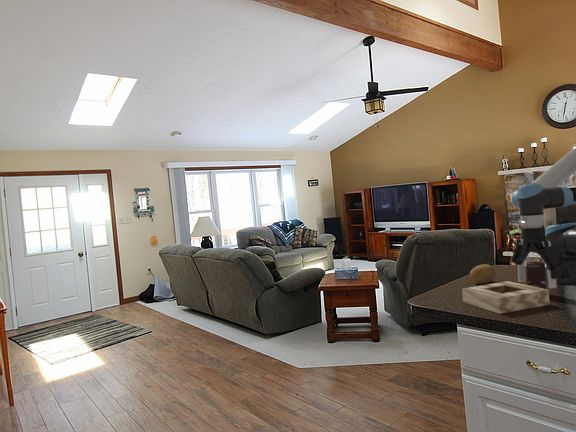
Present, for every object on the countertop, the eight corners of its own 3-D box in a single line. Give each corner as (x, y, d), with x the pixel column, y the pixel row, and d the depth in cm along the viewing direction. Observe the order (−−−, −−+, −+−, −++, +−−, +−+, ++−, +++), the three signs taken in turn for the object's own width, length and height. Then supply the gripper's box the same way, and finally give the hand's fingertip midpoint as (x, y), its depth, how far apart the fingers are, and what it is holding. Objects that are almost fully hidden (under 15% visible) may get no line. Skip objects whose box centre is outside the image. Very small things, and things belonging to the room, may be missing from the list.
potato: (499, 280, 184) (497, 262, 184) (492, 287, 173) (491, 267, 172) (475, 279, 190) (473, 261, 190) (467, 286, 178) (466, 267, 178)
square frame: (509, 294, 159) (508, 281, 159) (549, 304, 142) (548, 289, 142) (463, 302, 154) (461, 288, 154) (499, 313, 137) (498, 298, 137)
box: (528, 296, 155) (525, 263, 154) (528, 293, 159) (525, 261, 158) (547, 296, 152) (545, 263, 151) (547, 293, 156) (544, 261, 155)
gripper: (498, 226, 166) (502, 280, 166) (553, 229, 142) (558, 292, 142) (514, 224, 168) (518, 278, 168) (571, 226, 143) (575, 289, 144)
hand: (536, 284), depth 155 cm, fingers open, 13 cm apart
